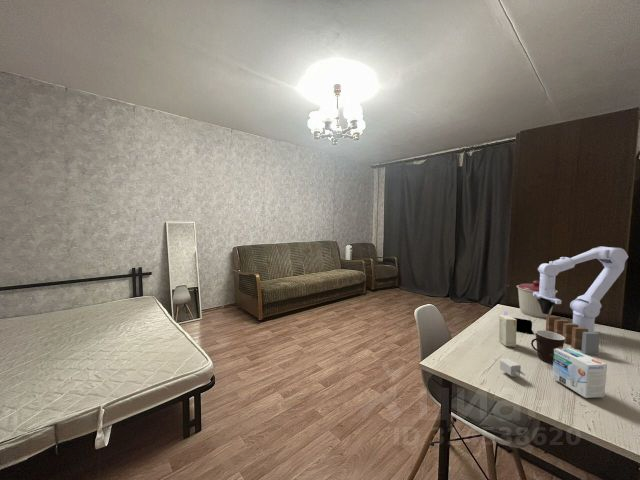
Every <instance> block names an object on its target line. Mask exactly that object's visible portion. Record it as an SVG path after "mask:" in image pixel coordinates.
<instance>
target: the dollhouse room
mask: <svg viewBox="0 0 640 480" xmlns="http://www.w3.org/2000/svg"><path fill="white" fill-rule="evenodd" d="M503 315H509V314H508V312H507V311H504V314H503ZM513 318H514V319H516V320H517V326H516V333H520V334H526V335H527V334H528V335H535V333H534V331H533V329H532V328H533V321H532V320H530V319H523V318H520V317H519V318H517V317H513Z"/></svg>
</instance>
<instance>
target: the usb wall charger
mask: <svg viewBox="0 0 640 480" xmlns="http://www.w3.org/2000/svg"><path fill="white" fill-rule="evenodd" d="M499 362H500V364H499V368H500V370H501V371H503V372H504V373H506V374H507V375H509V377H520V376H521V375H522V376H526V373H525V372H523V371H522V370H521V369H522V367H521V365H520V364H518V362H515V361H514V360H512V359H511V358H501V359H500V361H499Z"/></svg>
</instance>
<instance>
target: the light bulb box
mask: <svg viewBox="0 0 640 480" xmlns="http://www.w3.org/2000/svg"><path fill="white" fill-rule="evenodd" d="M607 369H608V364H607V363H605V362H603V361H600V360H598V359H596V358H594V357H591V355H585V354H583V353H581V351H578V350H577V349H574V348H572V347H565V348H564V347H563V348H561V349H554V360H553V363H552V374H551V375H552V376H551V377H552V378H553V379H554V380H556V381H557V382H559V383H561V384H562V385H564V386H565V387H568V388H569V389H571V390H572V391H573V392H576V394H579V395H580V396H582V397H583V398H585V399H588V398H592V399H593V398H604V397H605V394H606V382H607Z"/></svg>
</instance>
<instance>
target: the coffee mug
mask: <svg viewBox="0 0 640 480" xmlns="http://www.w3.org/2000/svg"><path fill="white" fill-rule="evenodd" d="M564 341H565V337H564V336H562V335H560V334H557V333H554V332H550V331H546V330H543V329H538V330H536V331H535V338H532V340H531V343H530V345H531V347H532V348H533V349H534V350H535V351H537V358H538V359H540V360H541V361H544V362H545V363H546V362H547V363H551V364H553V360H554V349H561V348H564V345H565V343H564ZM534 342H536V347H535V346H534Z"/></svg>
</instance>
